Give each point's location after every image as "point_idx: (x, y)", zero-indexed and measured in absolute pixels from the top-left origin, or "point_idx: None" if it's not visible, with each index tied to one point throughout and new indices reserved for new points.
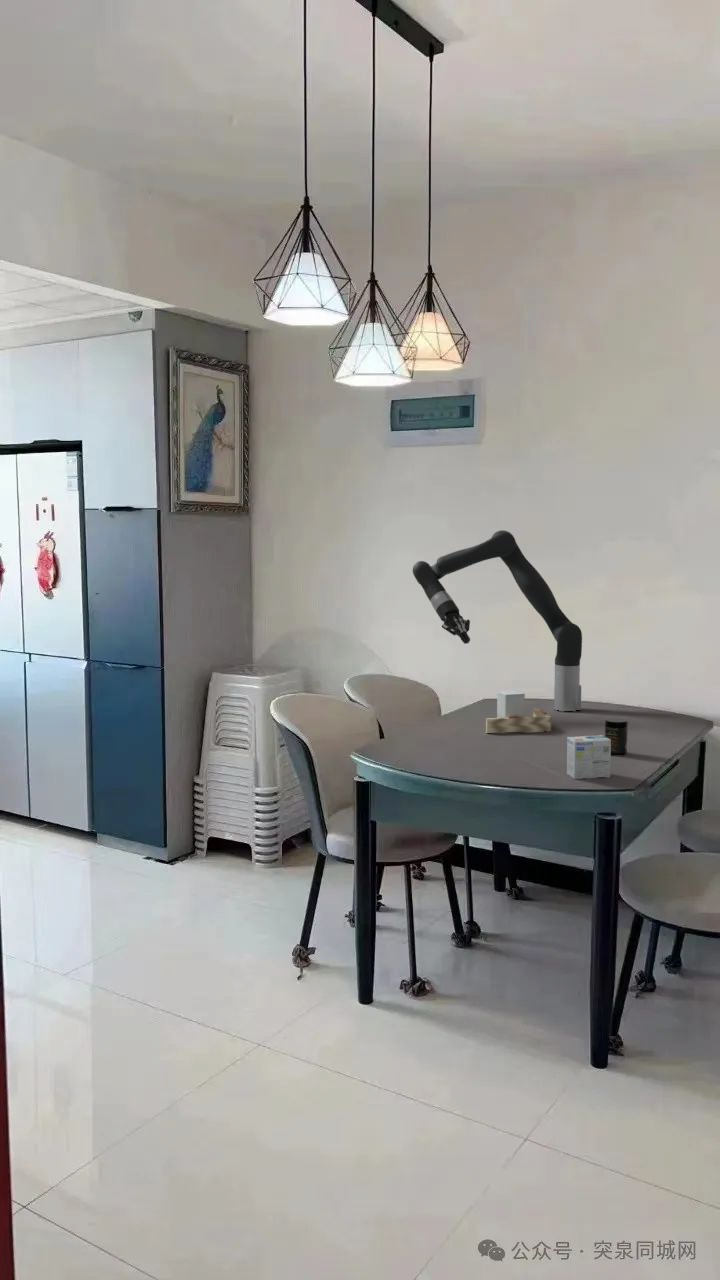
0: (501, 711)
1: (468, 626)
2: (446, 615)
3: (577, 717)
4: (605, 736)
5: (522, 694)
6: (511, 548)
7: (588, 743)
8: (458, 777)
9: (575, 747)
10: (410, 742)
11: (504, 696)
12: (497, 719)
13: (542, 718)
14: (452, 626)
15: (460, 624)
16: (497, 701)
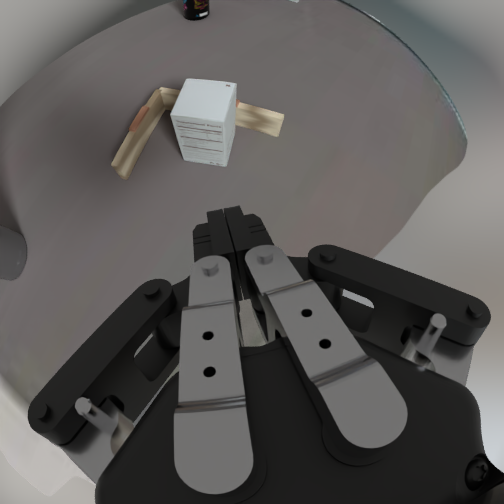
0: (232, 125)
1: (114, 324)
2: (472, 467)
3: (42, 186)
4: (207, 1)
5: (192, 79)
6: None
7: None
8: (393, 39)
9: None
10: (415, 153)
11: (235, 90)
12: (262, 109)
13: (174, 90)
14: (392, 280)
15: (239, 339)
16: (226, 133)
